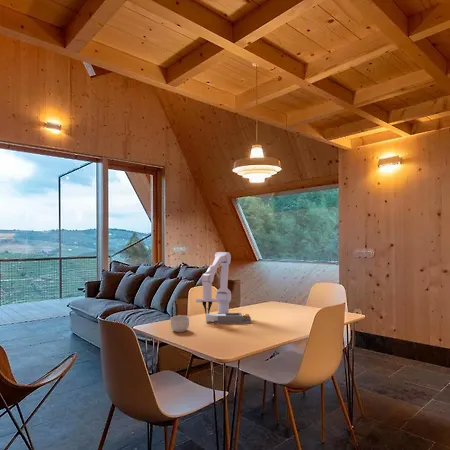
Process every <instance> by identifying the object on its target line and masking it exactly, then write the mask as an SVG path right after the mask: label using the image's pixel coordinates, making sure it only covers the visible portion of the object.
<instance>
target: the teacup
mask: <svg viewBox="0 0 450 450" xmlns="http://www.w3.org/2000/svg"><path fill="white" fill-rule="evenodd" d="M169 321H170V327H171V330H172V331H174V332H175V333H183V332H185V331H187V330H188V328H189V326H190V316H188V315H180V314H178V315H174V316H172V317H170V320H169Z"/></svg>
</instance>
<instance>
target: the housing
mask: <svg viewBox="0 0 450 450" xmlns="http://www.w3.org/2000/svg"><path fill="white" fill-rule="evenodd" d="M216 314H226V316H218V321H213V322H214V325H241V324H242V325H244V324H245V325H248V324H249V325H252V321H251V319H252V317H251V316H250V315H249V317H243V313H242V312H229V313H218V312H216Z"/></svg>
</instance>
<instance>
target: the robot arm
mask: <svg viewBox="0 0 450 450" xmlns="http://www.w3.org/2000/svg"><path fill="white" fill-rule="evenodd" d="M231 260H232V255H231V253H230V251H229V252H228V251H227V252H225V251H216V252H215V253H214V260H213V262H212V264H211V265H209V266H208V268H207V270H206V271H205V272H204V273H202V275H201V277H200V281H201V285H202V298H196V299H195V303H201V304H202V306H203V309H204V313H205V315H206V308H208V314H210V311H211V307H212V305H213V303H218V304H217V305H218V307H217V309H218V312H217V313H230V312H229V309H230V308H229V305H230V303H231V300H232V291H231V290H230V289H229V288H228V287H229V286H228V281H229V269H230V267H229V265H231ZM219 265H221V269H220V270H221V271H220V284H219V285H220V287H219V288H218V289H217V290H216V294H215V298H212V297H213V294H212V293H213V290H212V286H213V284H212V283H213V282H214V280H215V275H216V273H217V271H218V269H217V268H218V267H219ZM207 306H208V307H207Z"/></svg>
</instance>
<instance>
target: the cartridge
mask: <svg viewBox="0 0 450 450" xmlns="http://www.w3.org/2000/svg"><path fill="white" fill-rule="evenodd" d="M218 316H226V314H217V313H209V314H208V307H206V314H205V322H214V321H218Z"/></svg>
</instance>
